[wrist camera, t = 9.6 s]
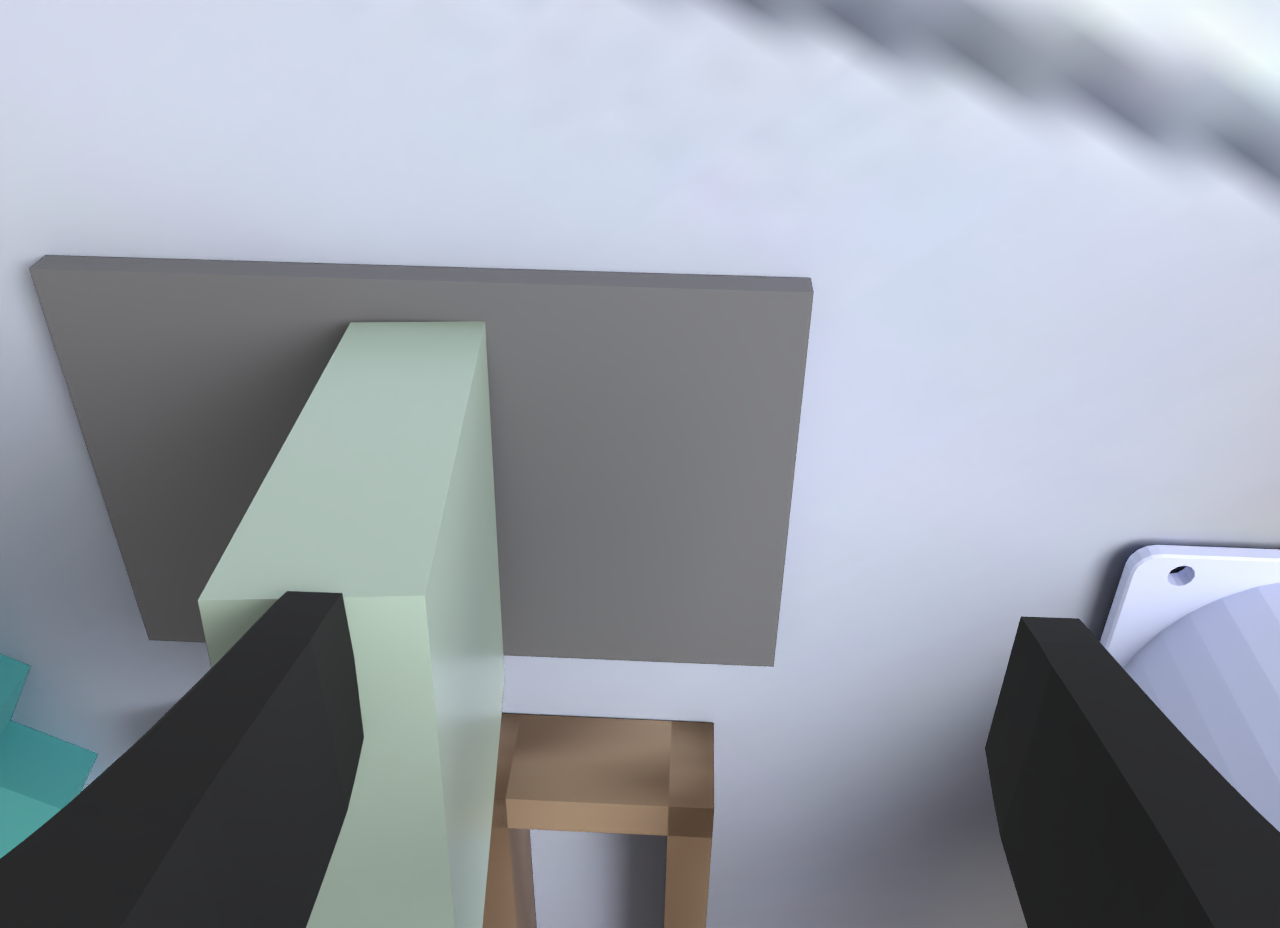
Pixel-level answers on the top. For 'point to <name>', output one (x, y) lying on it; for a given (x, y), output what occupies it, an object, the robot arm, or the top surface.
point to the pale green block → (393, 608)
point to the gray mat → (520, 430)
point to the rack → (601, 802)
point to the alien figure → (32, 766)
